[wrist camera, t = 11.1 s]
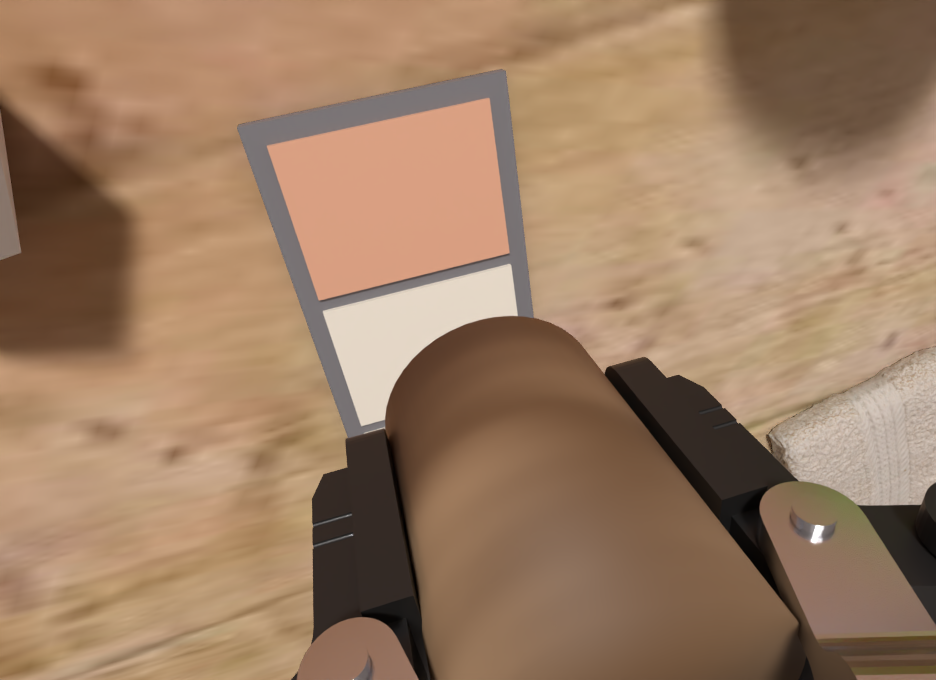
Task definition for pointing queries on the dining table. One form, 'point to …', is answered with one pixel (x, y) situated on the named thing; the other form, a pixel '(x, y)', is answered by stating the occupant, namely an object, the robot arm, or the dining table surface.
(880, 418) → the washcloth
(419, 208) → the game board
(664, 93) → the dining table surface
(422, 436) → the brown cylinder
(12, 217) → the die
